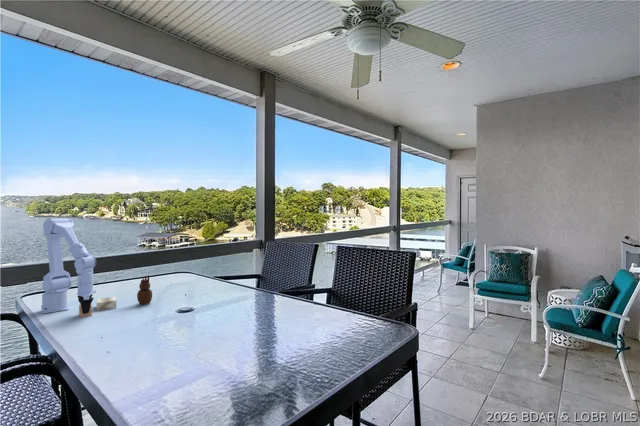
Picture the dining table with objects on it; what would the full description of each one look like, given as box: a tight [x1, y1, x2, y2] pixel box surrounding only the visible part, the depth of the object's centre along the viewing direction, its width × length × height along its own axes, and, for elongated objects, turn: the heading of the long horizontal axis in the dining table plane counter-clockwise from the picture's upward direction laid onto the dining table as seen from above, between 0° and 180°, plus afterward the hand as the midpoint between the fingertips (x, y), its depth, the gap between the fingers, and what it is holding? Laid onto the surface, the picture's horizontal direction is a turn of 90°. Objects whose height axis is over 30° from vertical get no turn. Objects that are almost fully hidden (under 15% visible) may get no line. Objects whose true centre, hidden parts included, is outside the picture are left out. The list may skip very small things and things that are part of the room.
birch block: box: [96, 296, 117, 311], centre depth 161 cm, size 8×8×4 cm
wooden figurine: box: [136, 274, 153, 306], centre depth 167 cm, size 7×6×15 cm
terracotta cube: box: [78, 304, 93, 318], centre depth 149 cm, size 4×4×4 cm
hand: (85, 311), depth 149 cm, fingers closed on terracotta cube, 4 cm apart
